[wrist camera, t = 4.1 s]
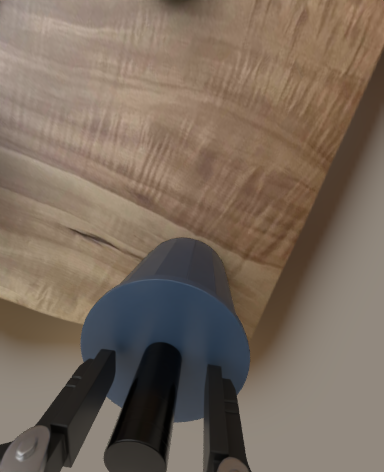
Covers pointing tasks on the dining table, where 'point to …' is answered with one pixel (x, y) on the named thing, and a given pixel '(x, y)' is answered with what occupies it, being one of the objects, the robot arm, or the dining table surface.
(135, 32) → the dining table surface
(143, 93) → the dining table surface
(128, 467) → the pot lid
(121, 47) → the dining table surface
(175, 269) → the pot
